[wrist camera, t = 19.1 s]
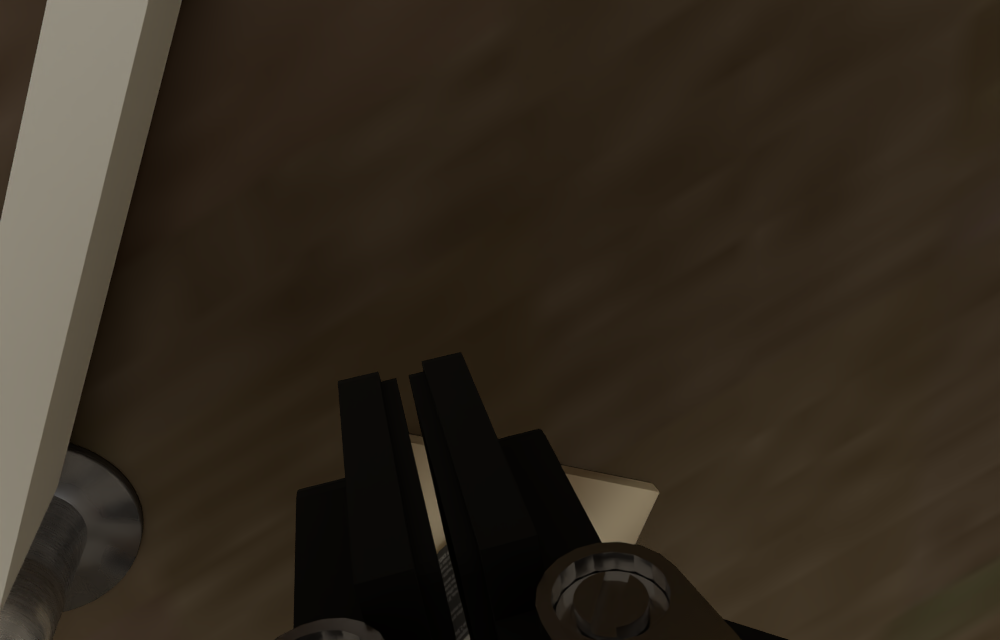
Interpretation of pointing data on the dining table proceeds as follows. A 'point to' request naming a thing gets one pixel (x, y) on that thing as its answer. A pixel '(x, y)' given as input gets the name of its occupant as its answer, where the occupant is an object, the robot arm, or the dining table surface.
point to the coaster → (603, 497)
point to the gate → (66, 234)
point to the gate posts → (75, 547)
